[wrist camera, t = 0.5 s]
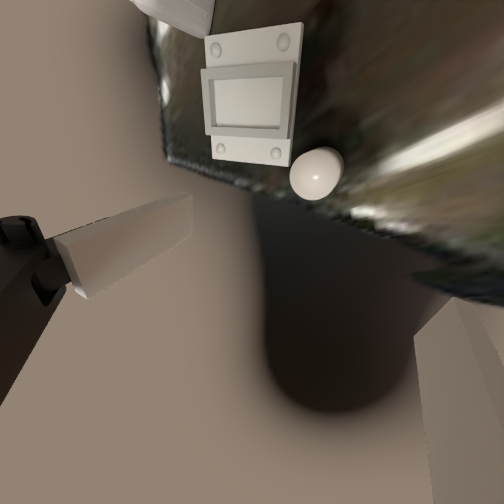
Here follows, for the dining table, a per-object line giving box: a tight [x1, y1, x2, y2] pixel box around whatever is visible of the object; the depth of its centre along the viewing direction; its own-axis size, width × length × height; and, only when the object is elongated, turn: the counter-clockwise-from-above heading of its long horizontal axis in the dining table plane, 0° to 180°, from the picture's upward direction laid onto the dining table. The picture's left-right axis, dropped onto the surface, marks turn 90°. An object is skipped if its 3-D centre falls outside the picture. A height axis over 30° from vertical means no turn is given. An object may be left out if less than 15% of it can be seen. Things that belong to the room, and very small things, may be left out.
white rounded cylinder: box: [290, 147, 344, 200], centre depth 31 cm, size 6×6×6 cm
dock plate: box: [201, 22, 304, 167], centre depth 33 cm, size 16×14×2 cm
